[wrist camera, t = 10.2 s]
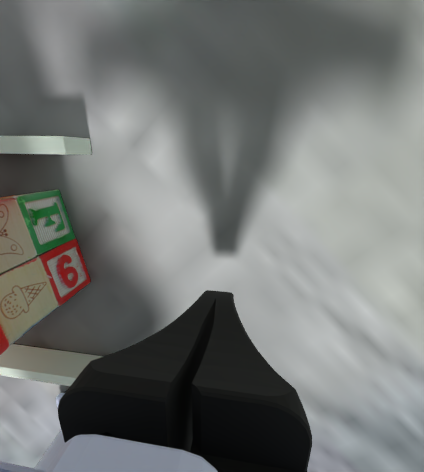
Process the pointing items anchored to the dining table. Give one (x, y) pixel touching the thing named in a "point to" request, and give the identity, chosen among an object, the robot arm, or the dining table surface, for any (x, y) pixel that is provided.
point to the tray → (33, 358)
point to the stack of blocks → (35, 261)
